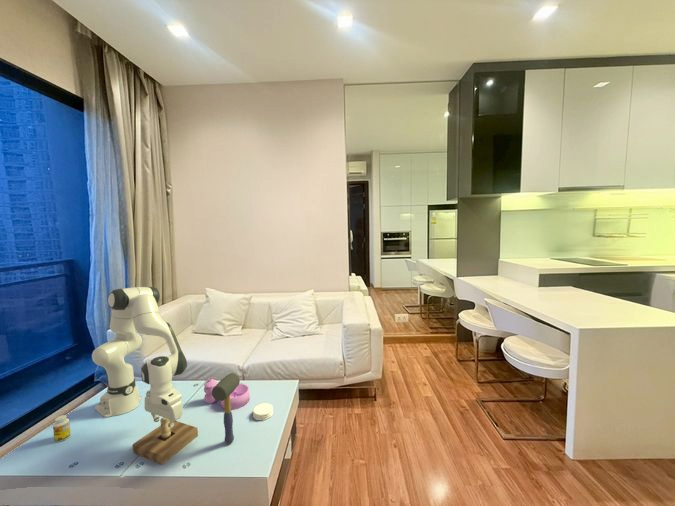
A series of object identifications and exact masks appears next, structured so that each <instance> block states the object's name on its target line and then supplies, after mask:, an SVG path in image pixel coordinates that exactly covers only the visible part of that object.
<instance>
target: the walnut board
mask: <svg viewBox="0 0 675 506" xmlns="http://www.w3.org/2000/svg"><path fill="white" fill-rule="evenodd" d="M170 429H171V437H170V438H169V439H167V440H166V441H162V437H161V436H162V435H161V425H159V426H158V427H156V428H155V429H153V430H151V431H150V432H149V433H147V434H145V435H144V436H143V437H141V438H140V439H138V440H136V441H135V442H133V444H132V453H133V454H135V455H137V456H139V457H141V458H145V459H147V460H148V461H149V460H150V461H151V462H154V463H156V464H159V465H164V464H165V463H166V462H168V460H169V461H170V459H171V458H173V457H174V456H175V455H176V454H177V453H179V452H180V451H181V450H182V449H184V448H185V447H186V446H188V445H189V444H190V443H191V442H192V441H193V440H195V439H196V438H197V437H198V436H199V431H198V427H196V426H193V425H190V424H187V423H184V422H181V421H178V420H176V421H174V426H173V427H172V428H170Z"/></svg>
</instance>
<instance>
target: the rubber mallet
mask: <svg viewBox="0 0 675 506" xmlns="http://www.w3.org/2000/svg"><path fill="white" fill-rule="evenodd" d="M239 384H241V383H240V378H239V375H237V374H236V373H235V372H230V373H228V374H227V375H225V376H224V377H223V378H221V380H219V382H217V385H216V386H215V387H214V388H213V390H212V396H213V398H214V399H215V400H217V401H216V402H220V401H223V400H224V407H225V409H224V413H223V426H224V442H225V444H226V445H231V444H232V443H234V438H235V435H234V433H233V432H234V431H233V428H234V427H233V424H234V423H233V422H234V421H233V412H232V410H231V405H230V394H231V393H232V392H233V391H234V390H235V389H236V388H237V386H238V385H239Z"/></svg>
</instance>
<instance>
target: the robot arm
mask: <svg viewBox="0 0 675 506" xmlns="http://www.w3.org/2000/svg"><path fill="white" fill-rule="evenodd" d="M160 299H161V294H160V291H159V289H158V288H156V287H154V286H135V287H125V288H117V289H113V290H111V292H110V293H109V294H108V299H107V300H108V301H107V302H108V305H109V308H110V309H112V311H111V316H110V322H109V329H110V331H111V332H112V333H113V334H114V333H115V337H114V338H113V339H111V340H109V341H107V342H104V343H102V344H101V345H99V346H98V347H96V348H95V349H94V350H93V351H92V353H91V359H92V362H93V363H94V364H95V365H96V366H100V367H103V368H104V369H105V371H106V375H107V381H108V384H107V385H106V388H107V391H106V392H105V393H104V394H103V395H101V396H100V398H99V403H98V404H97V405H96V406H95V407H94V410H95V411H97V413H99V415H101V416H102V417H103V418H111V417H113V416H114V417H115V416H118V415H119V416H120V415H123V414H127V413H128V412H131V411H133V410H135V409H136V408H137V407H139V405H140V401H141V400H142V396H140V392H139V388H138V387H139V386H138V385H136V382H137V381H136V378H134V377H135V376H134V375H135V374H134V366H133V365H132V364H131V363H128V362H126V361H125V357H126V356H128V355H130V354H132V353H134V352H135V351H137V350H138V349H139V348H140V347H141V346H142V345H143V338H142V336H141V335H146V336H155V337H159V338H163V339H164V340H165V342H166V344H167V347H168V349H169V351H170V354H169V355H167V356H164V355H163V356H161V355H160V356H155V358H153V359H151V360H149V361H145V363H144V364H143V365H142V367H141V368H140V370H141V380H142V382H143V383H145V384H147V385H150V386H149V387H150V389H149V390H147V391H146V393H145V398H144V410H145V412H147V413H150V414H151V417H152V418H153V422H154V423H158V422H159V421H160V419H161V418H160V417H162V418H163V417H164V418H167V419H169V421H170V423H168V427H170V428H172V427H173V426H174V421H178V420H179V419H181V418H182V416H183V402H182V401H181V399H182V396H183V395H182V394H181V393H180V392H179V391H178V390H177V389H176V388H175V387H174V384H173V377H175V376H180V375H182V374H183V373H184V372H185V371H186V369H187V367H188V360H187V357H186V356H185V354H184V352H183V351H182V348H181V346H180V344H179V341H178V339H177V336H176V334H175V332H174V329H173V327H172V326H171V324H170V323H169V322H167V321H165V320H164V319H163V318H162V317H161V314H160V310H159V306H158V303H159V302H160ZM140 334H141V335H140Z"/></svg>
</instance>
